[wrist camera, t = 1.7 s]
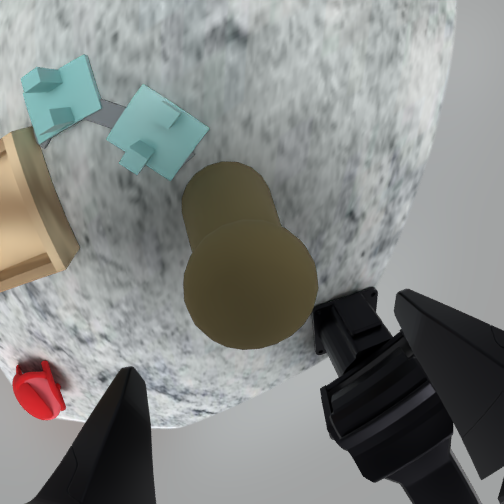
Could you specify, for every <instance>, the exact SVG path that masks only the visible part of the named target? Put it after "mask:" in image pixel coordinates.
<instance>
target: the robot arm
mask: <svg viewBox="0 0 504 504" xmlns="http://www.w3.org/2000/svg"><path fill="white" fill-rule="evenodd" d="M377 296H378V292H377V290H376V289H375V288H369V289H367V290H364V291H361V292H358V293H355V294H352V295H349V296H346V297H343V298H340V299H337V300H334V301H331V302H328V303H325V304H322V305H319V306H316V307H314V308H313V310H312V322H313V333H314V345H315V352H316V354H317V355H322V354H325V353H327V354H328V356H329V358H330V360H331V362H332V364H333V366H334V368H335V370H336V372H337V374H338V377H339V378H337V379H336V380H334V381H333V382H331V383H330V384H328V385H327V386H326V385H325V386H324V387H322V388H320V391H321V399H322V405H323V409H324V415H325V420H326V425H327V430H328V432H329V435H330V438H331V439H332V440H335V441H336V443H337V444H338V445H339V446H340V447H341V448H343V449H344V450H346V451H348V452H349V453H350V454H351V456H352V457H353V459H354V461H355V463H356V464H357V466H358V468H359V470H360V472H361V473H362V475H363V477H365V478H366V479H368V480H370V481H372V482H378V481H380V480H382V479H384V478H385V479H387V480H391V481H393V482H396V483H399V484H400V485H401V486H402V487H403V489H404V491H405V492H406V494H407V496H408V497H409V498H410V500H411V502H412V503H413V504H482V503H481V501H480V499H479V497H478V496H477V494H476V492H475V490H474V488H473V486H472V484H471V483H470V481H469V479H468V478H467V476H466V474H465V472H464V470H463V469H462V467H461V465H460V463H459V462H458V460H457V458H456V457H455V455H454V453H453V452H452V450H451V448H450V447H451V436H452V435H453V423H454V424H455V427H456V428H457V430H458V432H459V434H460V436H461V438H462V440H463V443H464V445H465V447H466V449H467V451H468V453H469V455H470V457H471V459H472V461H473V464H474V466H475V468H476V470H477V472H478V474H479V477H480V479H481V480H483V479H484V478H486V477H488V476H489V475H491V474H493V473H494V472H496V471H497V470H499V469H500V468H502V467H503V466H504V331H503V330H501V329H499V328H496V327H494V326H492V325H491V326H490V324H488V323H485V322H483V321H481V320H479V319H477V318H474V317H472V316H469V315H467V314H465V313H463V312H461V311H459V310H456V309H454V308H452V307H449V306H447V305H445V304H443V303H440V302H438V301H436V300H433V299H431V298H429V297H426V296H424V295H422V294H419V293H417V292H414V291H412V290H410V289H404V290H402V291H399V292H398V293H397V294H396V300H395V307H394V313H395V316H396V318H397V320H398V322H399V324H400V326H401V328H402V329H401V330H400V332H399V333H398V334H396V335H395V336H394V337H393V336H392V335H391V333H390V332H389V331H388V329H387V328H386V327H385V325H384V324H383V323H382V321H381V319H380V318H379V316H378V315H377V313H376V307H377ZM317 311H319V312H317ZM498 500H499V502H500V504H504V479H503V482H502V486H501V489H500V493H499V496H498ZM26 504H156V498H155V487H154V475H153V461H152V443H151V423H150V415H149V407H148V399H147V390H146V384H145V381H144V380H143V378H142V377H141V376H140V374H139V373H138V372H137V371H136V369H135V368H134V367H132V366H130V367H124V368H121V369H120V371H119V372H118V374H117V375H116V377H115V378H114V380H113V381H112V383H111V384H110V386H109V387H108V389H107V390H106V392H105V393H104V395H103V396H102V398H101V399H100V401H99V402H98V404H97V406H96V407H95V409H94V410H93V412H92V413H91V415H90V416H89V418H88V420H87V421H86V423H85V424H84V426H83V427H82V429H81V431H80V432H79V434H78V436H77V437H76V439H75V441H74V442H73V444H72V446H71V447H70V448H69V450H68V452H67V453H66V455H65V456H64V458H63V459H62V461H61V463H60V464H59V466H58V467H57V468H56V470H55V471H54V473H53V474H52V475H51V477H50V478H49V479H48V481H47V482H46V483H45V485H44V486H43V488H42V489H41V490H40V492H39V493H38V494H37V495H36V497H35V498H34V499H32V500H31V501H30V502H28V503H26Z"/></svg>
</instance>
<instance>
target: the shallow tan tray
mask: <svg viewBox="0 0 504 504" xmlns="http://www.w3.org/2000/svg"><path fill="white" fill-rule="evenodd" d="M33 131H34V128H33V126H31V127H27V128H23V129H19V130H16V131H12V132H10V133H8V134H7V135H6V136H4V137H3V138H1V139H0V292H3V291H6V290H8V289H11V288H14V287H17V286H20V285H22V284H25V283H28V282H31V281H34V280H37V279H40V278H43V277H45V276H48V275H51V274H54V273H57V272H60V271H63V270H66V269H67V267H68V266H69V264H70V262H71V261H72V259H73V258H74V256H75V255H76V253H77V252H78V250H79V248H80V247H79V245H78V243H77V241H76V239H75V236H74V234H73V232H72V230H71V228H70V225H69V223H68V221H67V218H66V216H65V214H64V211H63V209H62V206H61V204H60V202H59V199H58V196H57V194H56V191H55V189H54V186H53V183H52V181H51V178H50V175H49V172H48V169H47V166H46V163H45V160H44V157H43V154H42V151H41V148H40V145H38V144H37V142H36V139H35V135H34V132H33Z"/></svg>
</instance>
